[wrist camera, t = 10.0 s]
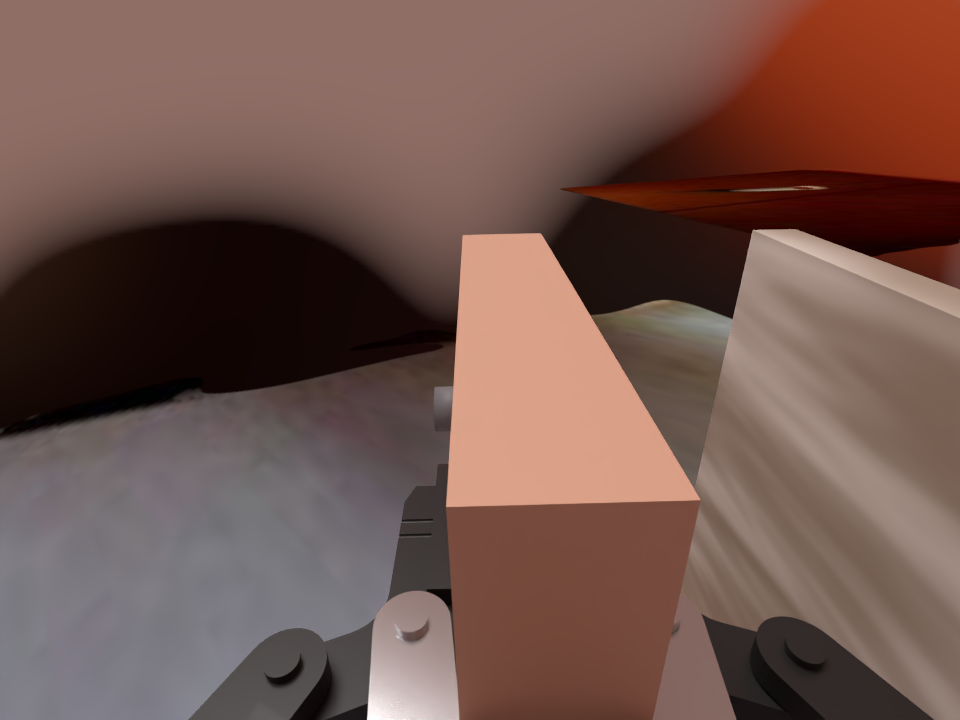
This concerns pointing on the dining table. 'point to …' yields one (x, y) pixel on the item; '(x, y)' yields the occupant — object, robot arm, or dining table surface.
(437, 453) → the dining table surface
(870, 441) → the wooden bookend stand
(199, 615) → the dining table surface
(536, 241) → the door
